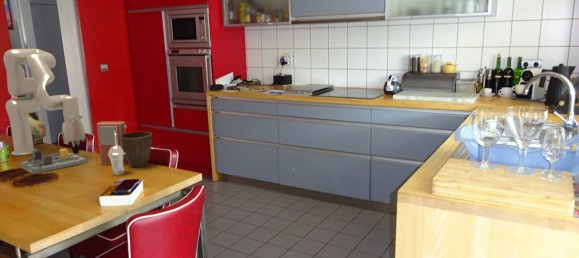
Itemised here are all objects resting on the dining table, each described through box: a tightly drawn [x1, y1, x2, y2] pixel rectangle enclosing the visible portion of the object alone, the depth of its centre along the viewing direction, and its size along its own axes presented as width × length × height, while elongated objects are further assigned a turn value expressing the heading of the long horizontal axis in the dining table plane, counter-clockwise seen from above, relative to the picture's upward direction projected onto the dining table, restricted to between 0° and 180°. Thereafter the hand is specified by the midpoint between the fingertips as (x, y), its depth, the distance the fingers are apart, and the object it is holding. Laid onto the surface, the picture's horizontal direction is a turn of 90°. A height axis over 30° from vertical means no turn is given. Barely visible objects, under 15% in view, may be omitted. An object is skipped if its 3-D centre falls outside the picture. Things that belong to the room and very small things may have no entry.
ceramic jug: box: [25, 112, 47, 145], centre depth 272 cm, size 17×15×30 cm
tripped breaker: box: [58, 148, 71, 159], centre depth 229 cm, size 4×5×5 cm
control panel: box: [96, 121, 129, 165], centre depth 225 cm, size 21×7×15 cm
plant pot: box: [120, 131, 153, 168], centre depth 220 cm, size 15×15×16 cm
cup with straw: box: [107, 131, 126, 176], centre depth 207 cm, size 8×9×20 cm
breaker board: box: [18, 149, 88, 175], centre depth 225 cm, size 22×26×7 cm
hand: (76, 153), depth 233 cm, fingers closed
